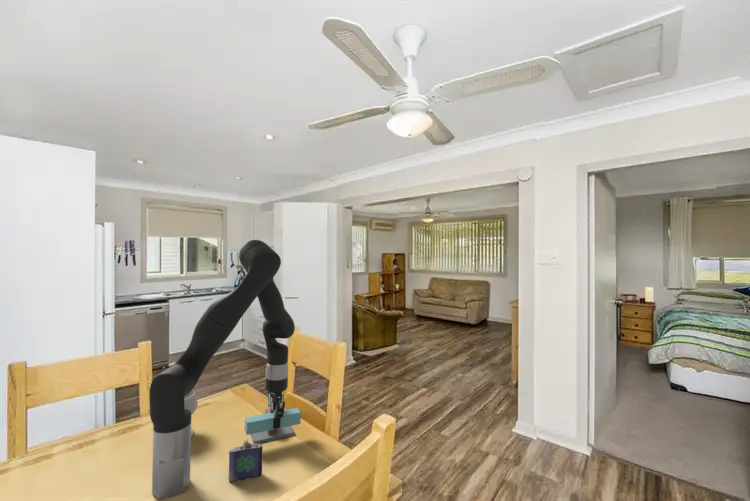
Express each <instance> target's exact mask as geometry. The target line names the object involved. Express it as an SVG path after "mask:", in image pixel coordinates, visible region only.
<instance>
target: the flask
mask: <svg viewBox="0 0 750 501" xmlns="http://www.w3.org/2000/svg"><path fill="white" fill-rule="evenodd" d="M228 455H229V456H228V459H229V460H228V482H229V483H236V482H244V481H246V480H251V479H258V478H259V479H260V478H261V477H262V475H263V445H262V443H258V444H257V443H255V444H252V443H251V442H249V439H245V440H244V439H243V444H242V445H239V446H236V447H232V448H230V449H229V451H228Z"/></svg>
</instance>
